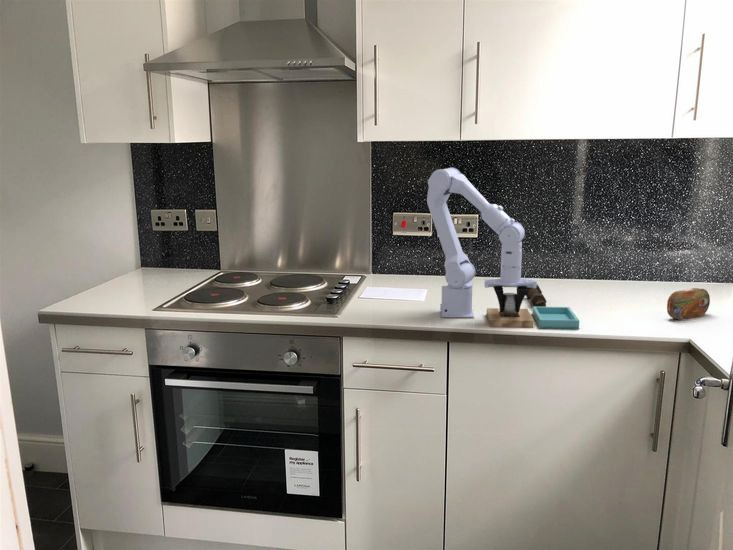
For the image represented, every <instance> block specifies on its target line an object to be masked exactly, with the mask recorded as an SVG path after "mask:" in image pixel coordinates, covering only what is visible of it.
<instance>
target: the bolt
mask: <svg viewBox="0 0 733 550" xmlns="http://www.w3.org/2000/svg"><path fill="white" fill-rule="evenodd" d="M527 289H528V291H527V294H526V295H525V297H526V298H527V300H529V302H530V304H531V305H532V308H533V307H547V299H546V297H545V296H544V294H543V292H542V289H541V288H540V286H539V284H538V283H537V288H532V287H527Z"/></svg>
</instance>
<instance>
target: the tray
mask: <svg viewBox="0 0 733 550" xmlns="http://www.w3.org/2000/svg"><path fill="white" fill-rule="evenodd" d="M531 316H532V317H533V316H534V317H533V318H534V320H535V322H536V324H537V326H538V328H539V329H540V330H542V329H546V330H548V329H551V330H555V329H556V330H579V329H580V320H579V318H578V316H576V314H575V313H574V311H573V310H572V309H571V308H570V306H546V307H533V306H532V314H531Z"/></svg>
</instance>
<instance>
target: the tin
mask: <svg viewBox="0 0 733 550" xmlns="http://www.w3.org/2000/svg"><path fill="white" fill-rule="evenodd" d="M710 302H711V298H710V293H709V292H708V291H707V290H706V289H705V288H698V287H691V288H687V289H683V290H677V291H674V292H672V293H671V294H670V296H669V297H668V299H667V302H666V303H667V304H666V311H667V314H668V316H669V317H671V318H672V319H675V320H679V321H684V320H685V319H686V320H690V319H694V318H699V317H702V316H704V315H705V314H706V313H707V311H708V309H709V307H710V304H711V303H710ZM686 320H685V321H686Z"/></svg>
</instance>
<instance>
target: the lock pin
mask: <svg viewBox="0 0 733 550" xmlns="http://www.w3.org/2000/svg"><path fill="white" fill-rule="evenodd" d="M516 310H517V293H515V292H503V312H502V317H516Z"/></svg>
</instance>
